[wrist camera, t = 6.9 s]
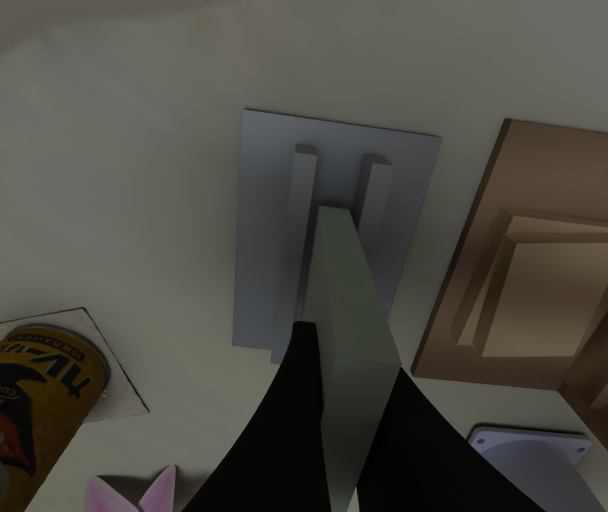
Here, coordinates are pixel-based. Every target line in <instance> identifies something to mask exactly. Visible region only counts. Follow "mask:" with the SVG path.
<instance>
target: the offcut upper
mask: <svg viewBox="0 0 608 512" xmlns="http://www.w3.org/2000/svg"><path fill="white" fill-rule="evenodd" d="M607 285H608V233H529V234H503V237H502V241H501V244H500V248H499V251H498V255H497V258H496V262H495V265H494V269H493V272H492V276H491V279H490V283H489V286H488V290H487V293H486V297H485V300H484V304H483V307H482V311H481V314H480V318H479V321H478V325H477V328H476V332H475V335H474V339H473V342H472V343H473V344H474V346H475V347H476V349H477V350H478V352H479V353H480V355H481V356H482V357H533V356H574V354H575V352H576V350H577V348H578V346H579V343H580V341H581V339H582V337H583V335H584V333H585V331H586V329H587V327H588V325H589V322H590V320H591V318H592V316H593V314H594V312H595V310H596V308H597V306H598V304H599V302H600V299H601V297H602V295H603V293H604V291H605V289H606V287H607Z"/></svg>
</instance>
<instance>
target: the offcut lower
mask: <svg viewBox="0 0 608 512" xmlns="http://www.w3.org/2000/svg"><path fill="white" fill-rule="evenodd" d="M529 233H608V222H606V221H599V220H591V219H583V218H576V217H568V216H560V215H553V214H545V213H537V212H530V211H522V210H514V209H507V208H501V209H500V211H499V214H498V216H497V219H496V221H495V223H494V226H493V228H492V231H491V233H490V235H489V238H488V240H487V243H486V245H485V247H484V250H483V252H482V254H481V257H480V259H479V262H478V264H477V266H476V269H475V271H474V274H473V276H472V278H471V281H470V283H469V286H468V288H467V290H466V293H465V295H464V297H463V300H462V302H461V305H460V307H459V309H458V312H457V314H456V317H455V319H454V321H453V324H452V326H451V329H450V331H449V332H450V334H451V336H452V337H453V339H454V341H455V342H456V344H457V345H466V346H474V344H473V343H472V342H473V339H474V335H475V332H476V328H477V325H478V321H479V318H480V314H481V311H482V307H483V304H484V300H485V297H486V293H487V290H488V286H489V283H490V279H491V276H492V272H493V269H494V265H495V262H496V258H497V255H498V251H499V248H500V244H501V241H502V237H503V234H529Z"/></svg>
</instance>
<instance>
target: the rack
mask: <svg viewBox="0 0 608 512" xmlns="http://www.w3.org/2000/svg"><path fill="white" fill-rule="evenodd" d="M501 208H507V209H514V210H522V211H530V212H537V213H545V214H553V215H560V216H568V217H576V218H583V219H591V220H599V221H606V222H608V134H605V133H598V132H591V131H584V130H578V129H571V128H564V127H557V126H551V125H544V124H537V123H530V122H523V121H517V120H510V119H505V121H504V123H503V126H502V129H501V131H500V134H499V137H498V139H497V142H496V145H495V147H494V150H493V153H492V155H491V158H490V161H489V163H488V166H487V169H486V171H485V174H484V177H483V179H482V182H481V184H480V187H479V190H478V192H477V195H476V198H475V200H474V203H473V206H472V208H471V211H470V214H469V216H468V219H467V222H466V224H465V227H464V230H463V232H462V235H461V238H460V240H459V243H458V246H457V248H456V251H455V253H454V256H453V259H452V261H451V264H450V267H449V269H448V272H447V275H446V277H445V280H444V283H443V285H442V288H441V291H440V293H439V296H438V299H437V301H436V304H435V307H434V309H433V312H432V315H431V317H430V320H429V322H428V325H427V328H426V330H425V333H424V336H423V338H422V341H421V344H420V346H419V349H418V352H417V354H416V357H415V360H414V362H413V365H412V368H411V370H410V371H411V373H412V376H413V377H419V378H430V379H440V380H450V381H461V382H471V383H481V384H492V385H502V386H512V387H523V388H533V389H544V390H554V391H558V392H559V393H560V394H561V396H562V397H563V398H564V399H565V400H566V402H567V403H568V404H569V405H570V406H571V408H572V409H573V410H574V411H575V412H576V414H577V415H578V416H579V417H580V418H581V420H582V421H583V422H584V423H585V424H586V426H587V427H588V428H589V429H590V430H591V432H592V433H593V434H594V435H595V436H596V437H597V439H598V440H599V441H600V442H601V443H602V445H603V446H604V447H605V448H606V449H607V451H608V285H607V287H606V289H605V291H604V293H603V295H602V297H601V299H600V302H599V304H598V306H597V308H596V310H595V312H594V314H593V316H592V318H591V320H590V322H589V325H588V327H587V329H586V331H585V333H584V335H583V337H582V339H581V341H580V343H579V346H578V348H577V350H576V352H575V354H574V356H533V357H482V356H481V355H480V353H479V352H478V350H477V349H476V347H475V346H466V345H457V344H456V342H455V341H454V339H453V337H452V336H451V334H450V332H449V331H450V329H451V326H452V324H453V321H454V319H455V317H456V314H457V312H458V309H459V307H460V305H461V302H462V300H463V297H464V295H465V293H466V290H467V288H468V286H469V283H470V281H471V278H472V276H473V274H474V271H475V269H476V266H477V264H478V262H479V259H480V257H481V254H482V252H483V250H484V247H485V245H486V243H487V240H488V238H489V235H490V233H491V231H492V228H493V226H494V223H495V221H496V219H497V216H498V214H499V211H500V209H501Z"/></svg>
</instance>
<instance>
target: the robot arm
mask: <svg viewBox="0 0 608 512" xmlns="http://www.w3.org/2000/svg"><path fill="white" fill-rule="evenodd" d="M319 361H320V352H319V343H318V336H317V329H316V324H315V322H306V321H296V322H294V323H293V327H292V334H291V339H290V342H289V345H288V348H287V351H286V353H285V356H284V358H283V360H282V362H281V365H280V367H279V369H278V372H277V374H276V376H275V378H274V379H273V381H272V383H271V385H270V387H269V389H268V391H267V393H266V395H265V396H264V398H263V400H262V402H261V403H260V405H259V407H258V408H257V410H256V412H255V413H254V415H253V417H252V418H251V420H250V421H249V423H248V424H247V426H246V427H245V429H244V430H243V432H242V433H241V435H240V436H239V438H238V439H237V440H236V442H235V443H234V445H233V446H232V448H231V449H230V451H229V452H228V453H227V455H226V456H225V457H224V459H223V460H222V461H221V463H220V464H219V465H218V467H217V468H216V469H215V470H214V472H213V473H212V474H211V475H210V477H209V478H208V479H207V480H206V482H205V483H204V484H203V485H202V487H201V488H200V489H199V490H198V492H197V493H196V494H195V495H194V497H193V498H192V499H191V501H190V502H189V503H188V504H187V505H186V506H185V508H184V509H183V510H182V511H181V512H332V511H331V504H330V497H329V491H328V484H327V477H326V469H325V460H324V452H323V444H322V435H321V426H320V416H319V400H318V389H319ZM591 445H592V441H591V440H590V438H589V437H588V436H585V435H575V434H564V433H552V432H541V431H530V430H518V429H507V428H496V427H484V426H481V427H478V428H476V429H475V430H474V432H473V433H472V435H471V437H470V439H469V441H468V442H467V441H466V440H465V439H464V438H463V437H462V436H461V435H460V434H459V433H458V432H457V431H456V430H455V429H454V428H453V427H452V426H451V425H450V424H449V422H448V421H447V420H446V419H445V418H444V417H443V416H442V415H441V414H440V413H439V412H438V410H437V409H436V408H435V407H434V406H433V405H432V404H431V403H430V401H429V400H428V399H427V398H426V397H425V396H424V394H423V393H422V392H421V391H420V390H419V388H418V387H417V386H416V385H415V383H414V382H413V381H412V380H411V378H410V377H409V376H408V375H407V373H406V372H405V371H404V370H403V368H402V367H400V370H399V372H398V375H397V378H396V380H395V383H394V386H393V388H392V391H391V394H390V397H389V399H388V402H387V405H386V407H385V410H384V413H383V415H382V418H381V421H380V423H379V426H378V429H377V431H376V434H375V437H374V439H373V442H372V445H371V447H370V450H369V453H368V455H367V458H366V461H365V463H364V466H363V469H362V471H361V474H360V477H359V479H358V482H357V485H356V487H357V495H358V502H359V511H360V512H606V511H605V509H604V508H603V507H602V505H601V504H600V502H599V501H598V500H597V498H596V497H595V495H594V494H593V493H592V491H591V490H590V488H589V487H588V486H587V484H586V483H585V481H584V480H583V478H582V477H581V476H580V474H579V473H578V471H577V470H576V469H575V467H574V466H575V465H576V464H577V462H578V461H579V460H580V459H581V458H582V456H583V455H584V454H585V453H586V452H587V450H588V449H589V448H590V447H591Z"/></svg>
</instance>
